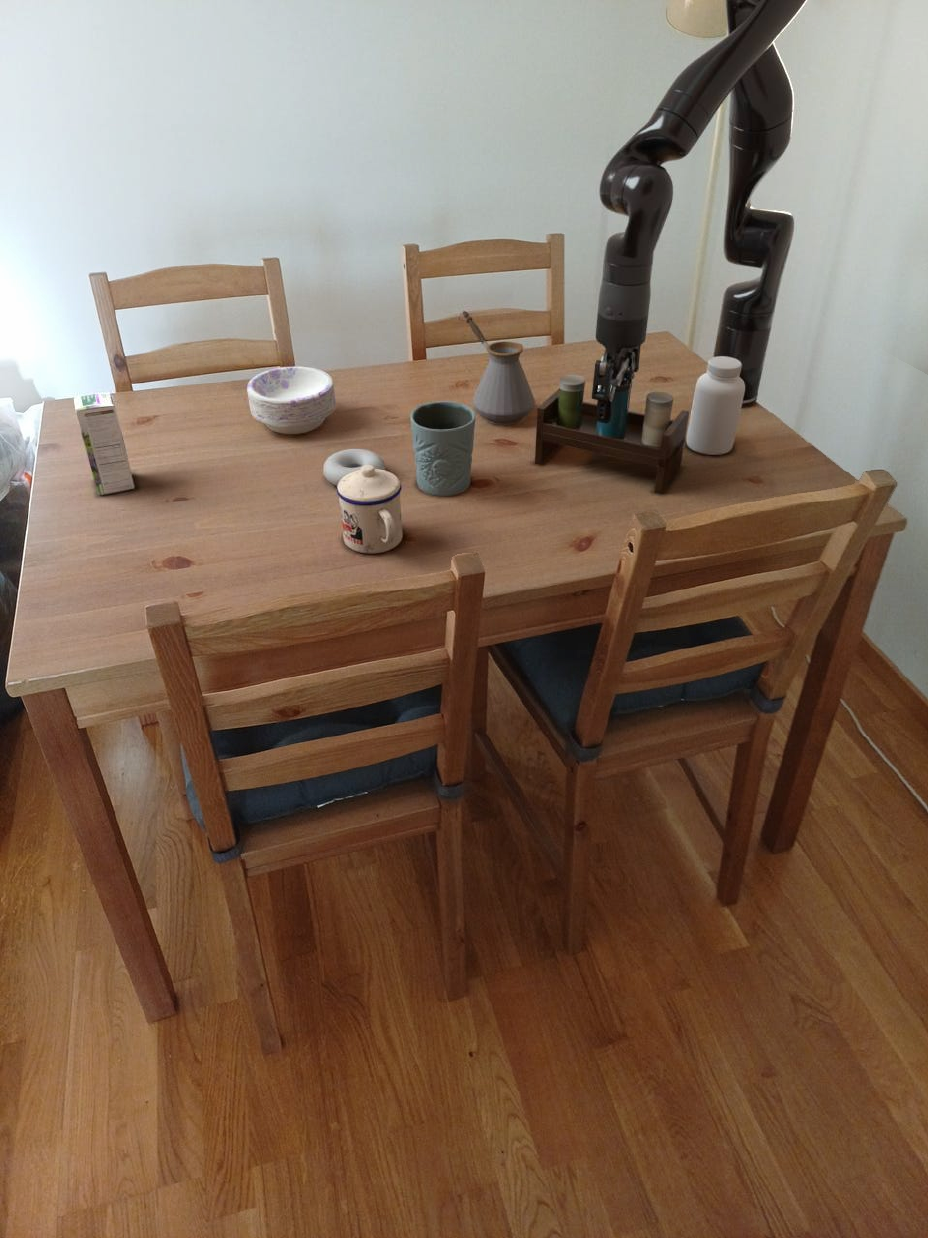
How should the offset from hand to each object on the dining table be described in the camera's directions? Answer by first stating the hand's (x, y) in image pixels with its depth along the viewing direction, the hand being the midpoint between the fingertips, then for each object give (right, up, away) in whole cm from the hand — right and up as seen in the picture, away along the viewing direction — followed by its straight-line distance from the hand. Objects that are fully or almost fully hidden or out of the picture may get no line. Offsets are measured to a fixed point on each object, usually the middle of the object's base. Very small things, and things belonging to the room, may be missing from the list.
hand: (612, 411), depth 141 cm
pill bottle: (+19, -3, +11) cm, 22 cm away
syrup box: (-80, -12, +2) cm, 81 cm away
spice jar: (0, -3, +2) cm, 4 cm away
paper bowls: (-54, +2, +20) cm, 58 cm away
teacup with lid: (-36, -22, -12) cm, 45 cm away
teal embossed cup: (-27, -11, +1) cm, 29 cm away
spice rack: (0, -8, +6) cm, 10 cm away
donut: (-42, -10, +3) cm, 43 cm away
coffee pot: (-19, +7, +25) cm, 32 cm away
